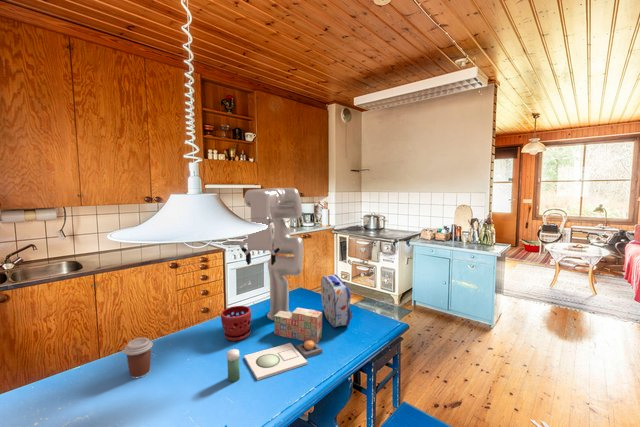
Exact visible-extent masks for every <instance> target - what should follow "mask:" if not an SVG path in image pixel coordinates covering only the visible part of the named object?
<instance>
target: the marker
mask: <svg viewBox="0 0 640 427" xmlns="http://www.w3.org/2000/svg"><path fill="white" fill-rule="evenodd" d="M226 360H227V361H226V362H227V381H228V383H236V382H238V381H239V380H240V350H239V349H237V348H232V349H229V350H228V351H227V352H226Z"/></svg>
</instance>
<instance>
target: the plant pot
mask: <svg viewBox="0 0 640 427" xmlns="http://www.w3.org/2000/svg"><path fill="white" fill-rule="evenodd" d="M232 313H233V314H232ZM220 322H221V325H222V329H223V331H224V334H223V335H224V338H225V339H226V340H228V341H232V342H237V341H242V340H244V339H246V338H248V337H249V336H250V334H251V332H252V331H251V328H250V326H251V324H252V323H251V322H252V309H251V308H250V307H249V306H246V305H234V306H230V307H228V308H225V309H223V310H222V311H221V312H220Z"/></svg>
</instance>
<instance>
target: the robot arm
mask: <svg viewBox="0 0 640 427" xmlns="http://www.w3.org/2000/svg"><path fill="white" fill-rule="evenodd" d="M244 194H245V195H244V197H243V198H244V200H243V201H244V203H245V205H246V207H247V208H250V223H251V222H256V223H262V224H266V225H268V228H267V229H266V230H262V231H259V232H256V233H253V234H250V235H248V234H247V238H246V239H245V240H243V241H241V242H239V243H238V245H239V248H240V249H241V251H242V252H243V253H244V255H245V261H246V264H247V265H249V266H250V264H251V263H252V253H251V251H265V252H266V251H269V252H270V253H271V255H270V258H269V260H268V261H267V270H268V276H269V310H270V311H268V312H267V314H266V316H267V317H266V318H267V319H268V320H271V321H273V322H274V316H275V315H276V314H277V313H278V312H279V311H285V312H291V310H290V309H289V304H290V302H289V300H290V299H289V298H290V296H289V288H290V287H289V286H290V285H289V282H288V279H287V278H286V276H295V277H296V276H300V275H301V274H302V270H303V262H304V260H303V259H304V258H303V256H304V241H303V239H302V238H301V237H300V236H293V235H291V227H290V225H289V223H288V222H287V221H286V220H285V219H291V220H292V219H294V220H295V219H300V218H301V217H302V216H303V206H302V200H301V196H300V193H299V190H298V189H296V188H294V187H271V188H259V189H257V188H256V189H248V190H246V192H245V193H244ZM271 223H272V224H271ZM246 244H247V247H245V245H246ZM277 254H278V255H279V256H278V255H277ZM281 255H282V256H281ZM283 255H284V256H283ZM285 255H289V256H285ZM290 255H293V256H290Z"/></svg>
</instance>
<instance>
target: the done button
mask: <svg viewBox="0 0 640 427" xmlns="http://www.w3.org/2000/svg"><path fill="white" fill-rule="evenodd" d="M303 343H304V348H305V349H304V350H305V351H311V350H315V349H314V342H313V341H311V340H308V341H303Z"/></svg>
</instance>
